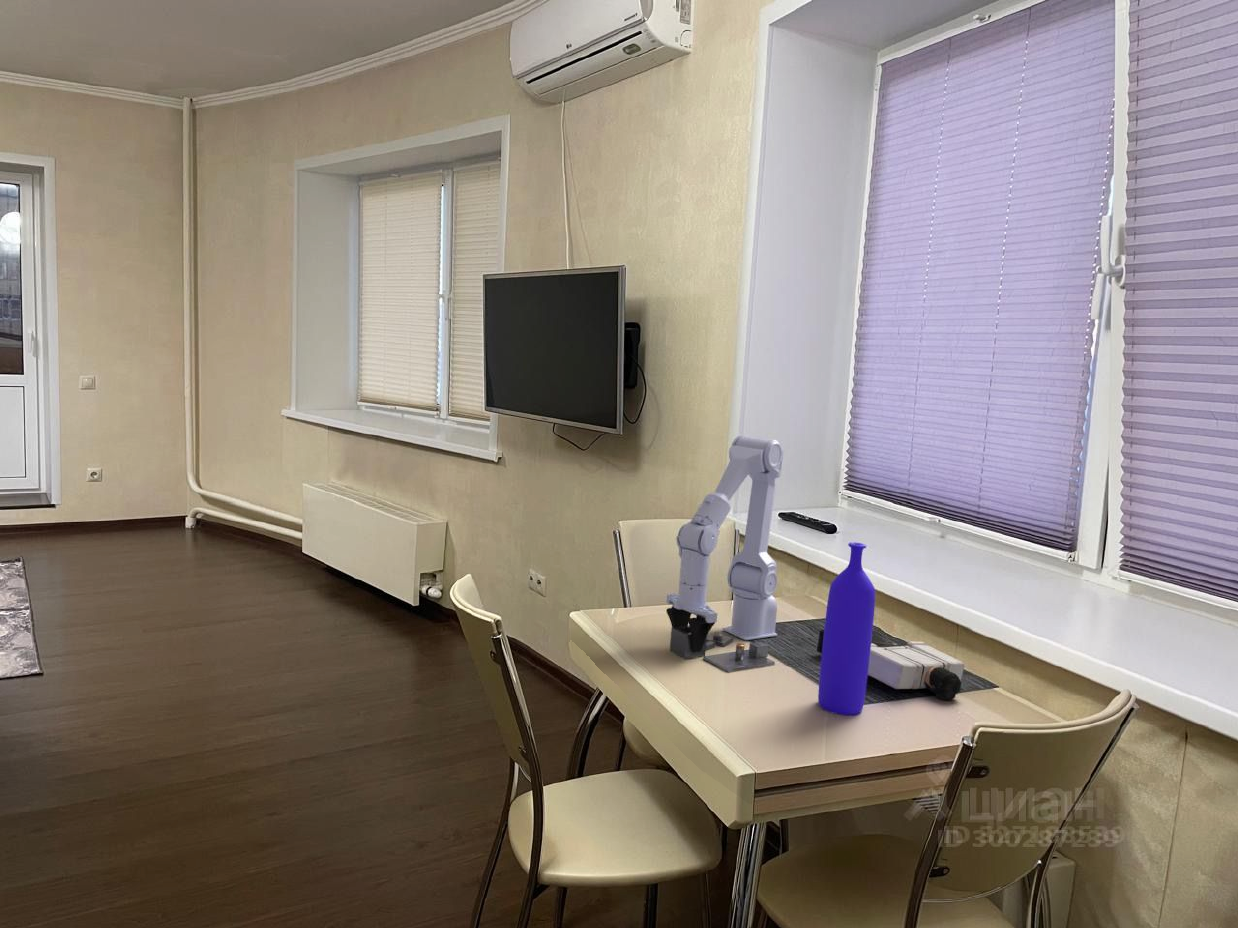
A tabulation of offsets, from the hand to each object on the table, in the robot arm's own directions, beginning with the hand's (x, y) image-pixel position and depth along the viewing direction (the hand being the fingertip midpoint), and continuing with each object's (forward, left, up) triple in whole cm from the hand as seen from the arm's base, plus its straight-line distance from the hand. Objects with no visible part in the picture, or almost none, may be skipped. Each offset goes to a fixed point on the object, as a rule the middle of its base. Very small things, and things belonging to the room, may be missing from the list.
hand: (687, 646), depth 193 cm
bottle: (-9, +34, -2) cm, 35 cm away
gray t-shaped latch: (-9, -3, -1) cm, 10 cm away
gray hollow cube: (0, 0, -1) cm, 1 cm away
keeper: (-7, +8, -1) cm, 11 cm away
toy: (-32, +26, -2) cm, 41 cm away
